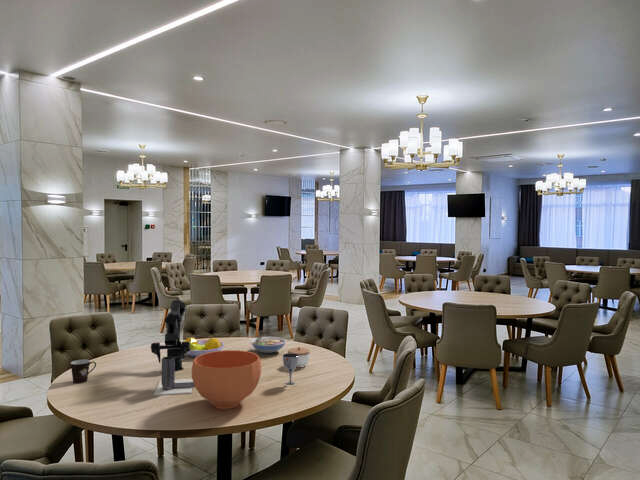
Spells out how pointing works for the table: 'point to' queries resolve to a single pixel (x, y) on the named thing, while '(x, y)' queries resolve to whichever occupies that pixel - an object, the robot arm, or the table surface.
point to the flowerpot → (226, 376)
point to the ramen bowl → (268, 344)
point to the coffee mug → (80, 370)
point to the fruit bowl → (203, 346)
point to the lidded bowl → (301, 355)
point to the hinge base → (175, 387)
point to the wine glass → (290, 364)
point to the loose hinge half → (168, 371)
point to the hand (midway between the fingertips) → (169, 362)
